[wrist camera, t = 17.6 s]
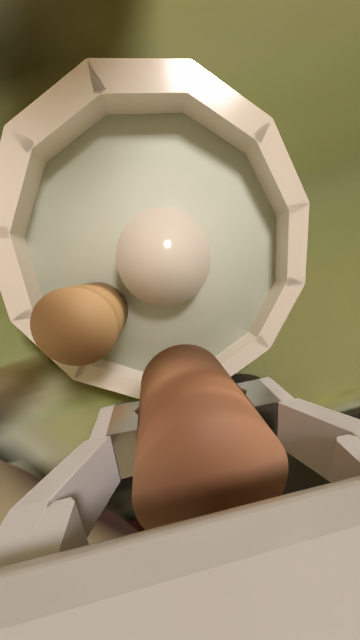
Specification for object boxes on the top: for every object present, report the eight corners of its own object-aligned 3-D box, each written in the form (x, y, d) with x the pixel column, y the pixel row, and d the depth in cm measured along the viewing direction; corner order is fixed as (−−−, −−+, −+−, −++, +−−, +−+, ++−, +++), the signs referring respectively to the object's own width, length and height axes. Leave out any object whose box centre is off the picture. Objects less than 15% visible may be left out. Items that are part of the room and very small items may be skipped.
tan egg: (102, 270, 14) (77, 269, 10) (139, 315, 15) (133, 334, 11) (57, 305, 14) (10, 322, 10) (97, 346, 16) (73, 380, 11)
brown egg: (221, 338, 10) (291, 403, 5) (225, 410, 11) (286, 523, 6) (134, 351, 9) (117, 439, 4) (147, 426, 10) (145, 563, 5)
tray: (329, 195, 16) (360, 182, 14) (219, 406, 20) (228, 424, 17) (67, 17, 12) (46, -49, 9) (-17, 333, 15) (-49, 344, 13)
